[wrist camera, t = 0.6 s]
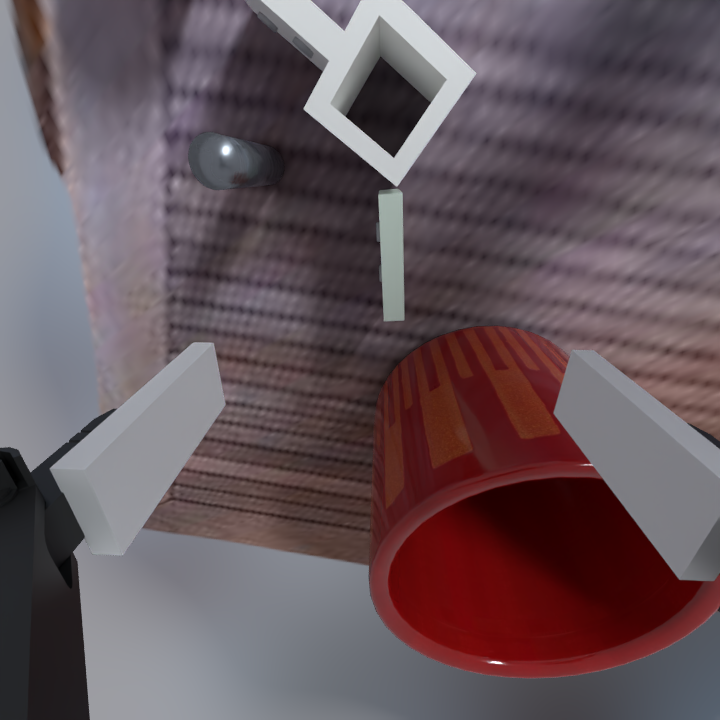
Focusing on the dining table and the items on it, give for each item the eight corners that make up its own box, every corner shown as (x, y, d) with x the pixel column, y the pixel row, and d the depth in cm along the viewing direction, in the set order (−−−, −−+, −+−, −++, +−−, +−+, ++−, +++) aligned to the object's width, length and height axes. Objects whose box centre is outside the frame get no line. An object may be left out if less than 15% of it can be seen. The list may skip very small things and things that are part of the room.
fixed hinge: (284, -61, 25) (244, -156, 18) (452, 98, 28) (476, 73, 21) (235, 52, 28) (184, 10, 21) (393, 183, 31) (397, 187, 24)
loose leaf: (398, 188, 31) (402, 193, 24) (400, 290, 35) (404, 320, 28) (376, 190, 31) (373, 195, 24) (380, 291, 35) (380, 321, 28)
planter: (333, 407, 42) (297, 579, 24) (501, 273, 34) (632, 382, 16) (455, 512, 49) (496, 706, 31) (619, 420, 41) (803, 613, 23)
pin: (260, 137, 30) (200, 119, 20) (290, 161, 31) (247, 155, 21) (243, 170, 31) (180, 168, 22) (273, 192, 32) (225, 200, 22)
